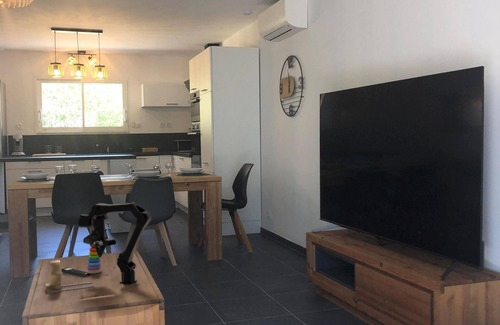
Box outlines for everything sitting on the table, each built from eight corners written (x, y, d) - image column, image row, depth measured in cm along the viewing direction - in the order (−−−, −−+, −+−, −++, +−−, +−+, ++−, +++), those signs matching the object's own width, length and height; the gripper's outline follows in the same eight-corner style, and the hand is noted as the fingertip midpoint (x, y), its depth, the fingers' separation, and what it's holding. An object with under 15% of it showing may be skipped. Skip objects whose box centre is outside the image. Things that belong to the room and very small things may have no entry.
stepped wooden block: (60, 287, 265) (59, 259, 265) (61, 290, 260) (60, 262, 260) (45, 289, 263) (44, 261, 262) (46, 292, 258) (45, 263, 257)
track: (91, 284, 273) (91, 282, 273) (93, 288, 265) (93, 286, 265) (46, 290, 264) (46, 287, 264) (46, 294, 257) (46, 291, 257)
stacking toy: (97, 274, 293) (96, 240, 292) (84, 273, 295) (83, 240, 294) (104, 270, 301) (103, 238, 300) (91, 270, 303) (90, 237, 302)
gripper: (74, 228, 275) (75, 258, 276) (100, 231, 265) (100, 262, 266) (91, 225, 284) (92, 254, 285) (116, 228, 275) (117, 257, 276)
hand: (100, 257), depth 278 cm, fingers closed
